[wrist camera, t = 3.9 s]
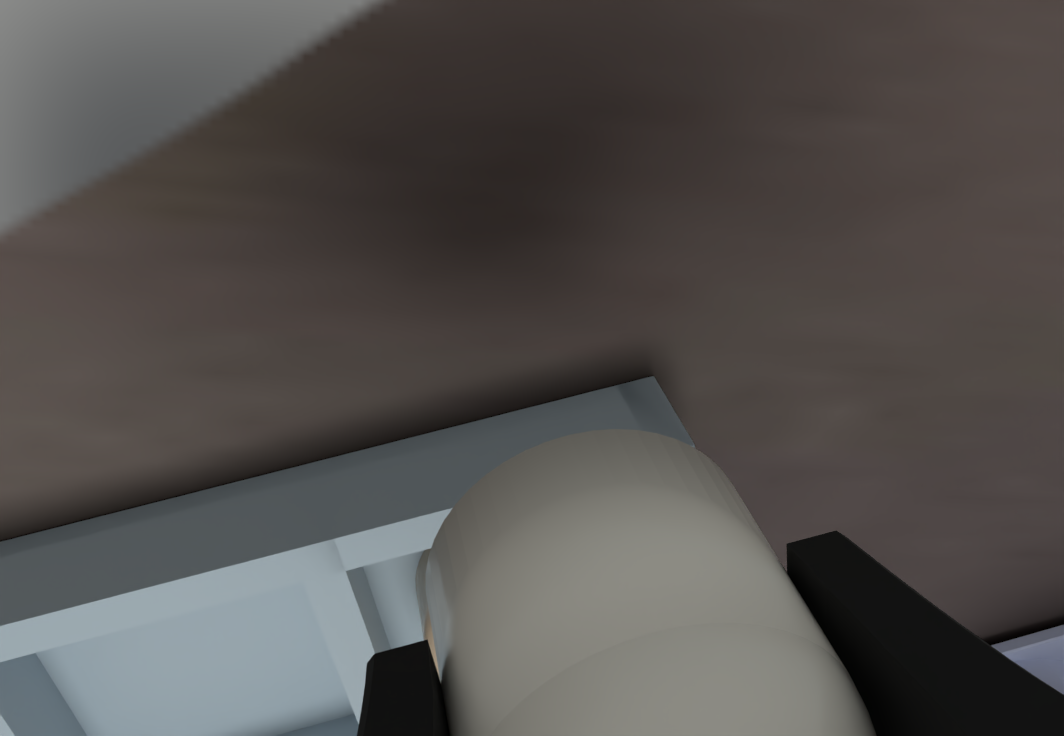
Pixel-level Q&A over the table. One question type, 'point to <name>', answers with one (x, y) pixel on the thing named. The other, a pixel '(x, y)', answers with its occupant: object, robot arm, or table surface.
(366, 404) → the table surface
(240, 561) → the egg carton
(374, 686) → the robot arm
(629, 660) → the cream egg
